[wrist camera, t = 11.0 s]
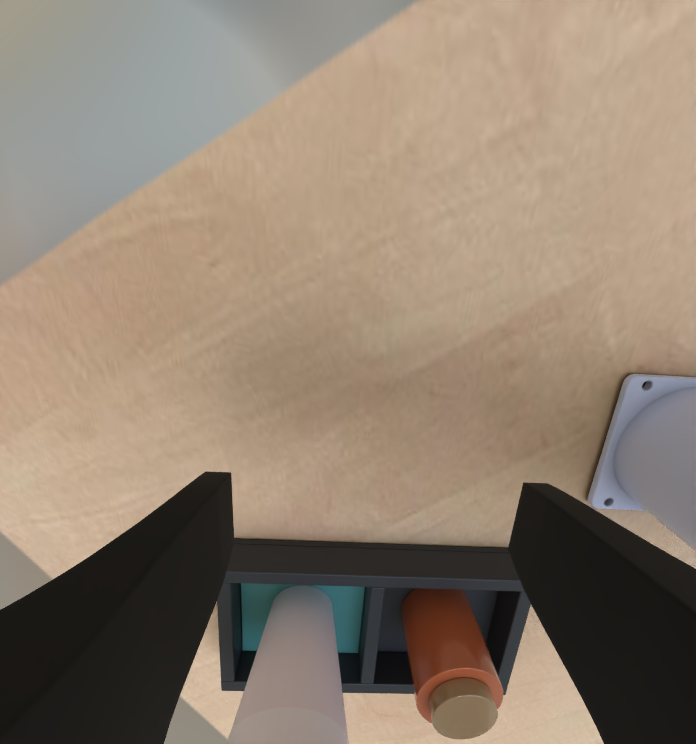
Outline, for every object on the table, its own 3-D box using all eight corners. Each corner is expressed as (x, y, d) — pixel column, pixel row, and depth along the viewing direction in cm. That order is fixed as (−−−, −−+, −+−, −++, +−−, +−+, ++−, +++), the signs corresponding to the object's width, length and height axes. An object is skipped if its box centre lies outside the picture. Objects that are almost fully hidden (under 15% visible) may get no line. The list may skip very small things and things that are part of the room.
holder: (227, 538, 22) (215, 571, 20) (518, 548, 23) (538, 581, 20) (231, 650, 25) (221, 691, 22) (490, 656, 26) (505, 695, 23)
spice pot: (475, 582, 23) (519, 687, 17) (464, 635, 24) (501, 748, 19) (404, 580, 23) (425, 685, 17) (396, 633, 24) (414, 747, 19)
